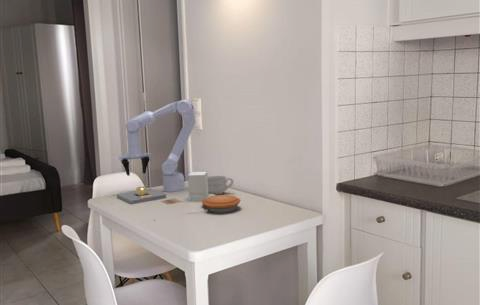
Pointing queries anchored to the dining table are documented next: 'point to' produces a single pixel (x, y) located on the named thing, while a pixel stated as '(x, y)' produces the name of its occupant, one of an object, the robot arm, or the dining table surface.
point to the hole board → (134, 199)
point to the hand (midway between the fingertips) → (136, 174)
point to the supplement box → (198, 186)
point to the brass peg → (141, 191)
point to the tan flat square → (171, 201)
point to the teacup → (218, 184)
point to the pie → (221, 203)
